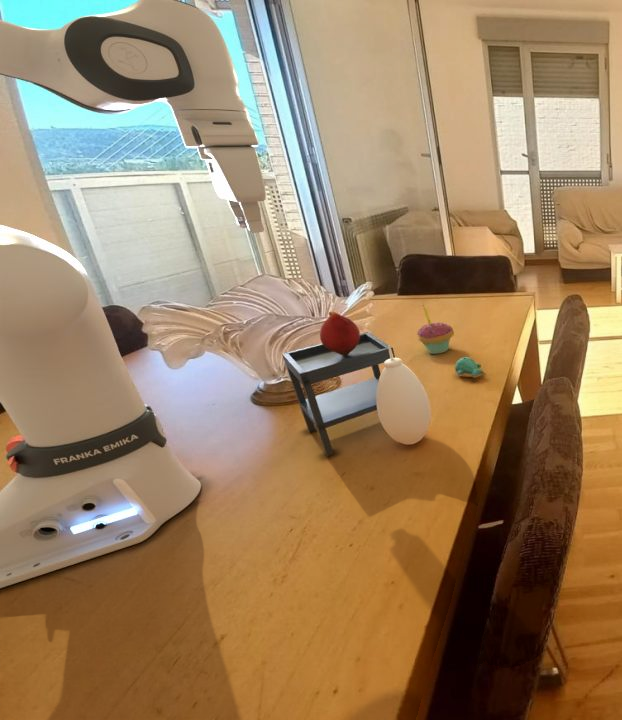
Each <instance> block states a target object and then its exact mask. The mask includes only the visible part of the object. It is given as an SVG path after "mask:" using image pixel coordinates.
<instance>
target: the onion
mask: <svg viewBox="0 0 622 720" xmlns="http://www.w3.org/2000/svg"><path fill="white" fill-rule="evenodd" d="M328 316H329V317H328V318H327V319H326V320H325V321H324V322H323V323H322V325H321V326H320V331H319V339H320V341H321V344H323V345H324V346H325V347H326V348H328V349H330V350H331V351H333V352H336V353H338V354H340V355H342V356H346V355H348V354H349V353H350V352H351V351H352V350H353V349H354V348H355V347H356V346H357V344H358V343H359V339H360V334H361V332H360V329H359V327H358V326H357V324H356V323H355V322H354V321H353V320H351V319H350V318H348V317H346V316H344V315H341V314H340V313H337V312H336V311H334V310H331V311H328Z"/></svg>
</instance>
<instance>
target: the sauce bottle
mask: <svg viewBox="0 0 622 720" xmlns="http://www.w3.org/2000/svg"><path fill="white" fill-rule="evenodd" d="M390 346H391V345H390V344H388V349H389V355H390V359H388V360H386V361H385V362H384V363H383V365H384V367H383V369H382V371H380V373H381V375H380V378H379V381H378V386H377V394H376V404H377V410H376V411H377V415H378V419H379V421H380V423H381V426H382V427H383V430H384V431H385V432H386V434H388V436H389V437H390V438H391V439H392V440H394V441H395V442H397V443H400V444H403V445H414V444H417V443H418V442H420V441H421V440H422V439H423V437H425V436H426V435H427V433H428V432H429V429H430V426H431V420H432V408H431V403H430V398H429V395H428V394H427V392H426V389H425V388H424V385H423V384H422V382H421V381H420V379H419V377H418V376H417V374H415V373H414V371H413V370H411V368H410V367H409V366H407V365H406V364H404V363H403V360H402V358H400V357H395V358H394V357H393V354H392V350H391V347H392V346H391V347H390Z"/></svg>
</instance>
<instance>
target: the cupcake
mask: <svg viewBox="0 0 622 720" xmlns="http://www.w3.org/2000/svg"><path fill="white" fill-rule="evenodd" d="M422 306H423V312H424V315H425V318H426V320H427V324H425V325H423V326H421V328H419V329H418V331H417V333H416V335H417V339H418V341H419V342H421V343H422V344H423V345H424V347H425V348H426V350H427V352H428V354H429V353H430V354H433V355H436V354H437V355H438V354H442V353H445V352H447V351H449V346H450V342H451V341H450V340H451V338H452V337H453V336H454V334H455V331H454V328H453V327H452V326H451V325H449V324H447V323H444V322H433V323H432V320H431V318H430V315H429V312H428V309H427V307H426V306H425V304H422Z"/></svg>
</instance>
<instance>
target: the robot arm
mask: <svg viewBox="0 0 622 720" xmlns="http://www.w3.org/2000/svg"><path fill="white" fill-rule="evenodd" d="M0 75H1V76H5V77H8V78H13V79H15V80H20V81H23V82H26V83H29V84H32V85H34V86H38V87H39V88H42V89H43V90H46V91H47V92H50V93H52V94H54V95H56V96H57V97H59V98H61V99H63V100H65V101H67V102H69V103H71V104H73V105H75V106H77V107H79V108H81V109H85V110H87V111H90V112H94V113H97V114H98V113H99V114H102V115H103V114H104V115H122V114H126V113H128V112H132V111H133V110H135V109H136V108H138V107H143V106H146V105H149V104H152V103H155V102H162V103H165V104H166V105H168V106H169V107H170V109H171V111H172V114H173V117H174V119H175V123H176V125H177V128H178V131H179V134H180V136H181V139H182V142H183V144H184V147H185V148H187V149H197V152H198V154H199V158H200V160H202V161H205V163H206V166H207V169H208V172H209V176H210V178H211V182H212V185H213V187H214V191H215V193H216V194H217V196H218V197H219V198H220V199H224V200H226V201H227V204H228V206H229V208H230V210H231V212H232V214H233V216H234V218H235V221H236V224H237V226H238V228H239V227H240V228H241V229H247V230H248V231H249V232H250V233H253V234H258V233H263V232H264V231H265V227H264V224H263V221H262V214H261V213H262V212H261V208H260V203H259V202H265V201H266V197H267V196H266V195H267V193H266V186H265V181H264V176H263V172H262V168H261V164H260V159H259V156H258V152H257V149H256V148H257V147H259V145H260V143H259V138H258V135H257V132H256V130H255V129H254V126H253V122H252V120H251V116H250V114H249V109H248V108H247V106H246V105H245V103H244V101H243V99H242V97H241V94H240V89H239V78H238V74H237V71H236V68H235V66H234V62H233V59H232V57H231V54H230V51H229V48H228V46H227V44H226V41H225V39H224V37H223V35H222V33H221V31H220V29H219V27H218V25H217V23H216V22H215V21H214V19H213V18H212V17H211V16H210V15H209V14H207V13H206V12H205V11H203V10H202V9H200V8H199V7H196V6H195V5H192V4H190V3H188V2H185V1H183V0H138V1H135V2H134V3H132V4H130V5H129V6H126V7H123V8H121V9H119V10H115V11H111V12H107V13H106V12H105V13H101V14H92V15H84V16H80V17H77V18H74V19H73V20H70V22H68V23H66V24H64V25H63V26H61V28H54V29H39V28H32V27H30V28H29V27H26V26H22V25H18V24H16V23H12V22H10V21H6V20H2V19H0ZM255 147H256V148H255ZM0 405H2V407H3V409H4V410H5V412H6V414H7V415H8V417H9V418H10V420H11V421H12V423H13V425H14V426H15V427H16V429H17V431H18V432H19V434H20V435H15V436H12V437H11V438H9V439H8V442H7V443H6V446H5V451H6V453H7V454H6V457H5V458H6V460H7V465H8V466H9V467H10V469H11V471H12V472H13V473H16V475H15V476H14V477H13V478H11V480H10V481H9V482H8V483H7V484H6V485H5V486H3V488H2V489H0V589H2V588H5V587H8V586H12V585H15V584H17V583H21V582H24V581H27V580H30V579H32V578H36V577H39V576H42V575H45V574H48V573H52V572H54V571H57V570H60V569H64V568H66V567H69V566H72V565H75V564H78V563H82V562H85V561H88V560H91V559H94V558H97V557H100V556H103V555H106V554H109V553H112V552H116V551H120V550H122V549H124V548H127V547H130V546H133V545H137V544H139V543H142V542H144V541H145V540H147V539H148V538H150V537H151V536H152V535H153V534H154V533H155V532H156V531H157V530H158V529H159V528H161V526H162V525H163V524H165V523H166V522H167V521H168V520H170V519H172V518H173V517H174V516H176V515H177V514H179V513H180V512H182V511H183V510H184V509H186V507H188V506H189V505H190V504H191V503H192V502H193V501H194V500H195V499H196V498H197V496H198V495H199V494H200V491H201V490H202V489H201V488H202V484H201V481H200V480H199V479H198V478H196V477H195V476H194V475H193V474H192V473H191V472H190V471H188V469H187V468H186V467H185V466H184V465H183V464H182V463H181V461H180V460H179V458H177V456H176V454H175V453H174V452H173V451H172V449H171V448H170V446H169V445H168V443H167V442H168V441H167V435H166V432H165V430H164V427H163V425H162V424H161V421H160V419H159V418H158V416H157V414H156V413H155V412H154V410H153V409H152V407H151V406H150V405H149V404H146V403H145V402H144V400H143V397H142V396H141V394H140V391H139V390H138V387H137V385H136V383H135V382H134V379H133V377H132V375H131V374H130V371H129V370H128V368H127V366H126V364H125V360H124V359H123V357H122V355H121V353H120V351H119V347H118V344H117V342H116V339H115V337H114V334H113V330H112V327H111V326H110V323H109V321H108V318H107V317H106V313H105V311H104V309H103V306H102V304H101V302H100V300H99V297H98V294H97V293H96V290H95V288H94V286H93V283H92V281H91V279H90V276H89V275H88V273H87V271H86V269H85V268H84V267H83V265H82V263H80V261H78V259H76V258H75V257H74V256H73V255H72V254H70V253H69V252H67V251H66V250H64V249H62V248H61V247H59V246H57V245H55V244H53V243H51V242H49V241H47V240H44V239H42V238H40V237H38V236H35V235H33V234H30V233H29V232H25V231H22V230H19V229H15V228H13V227H9V226H5V225H2V224H0Z"/></svg>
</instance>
